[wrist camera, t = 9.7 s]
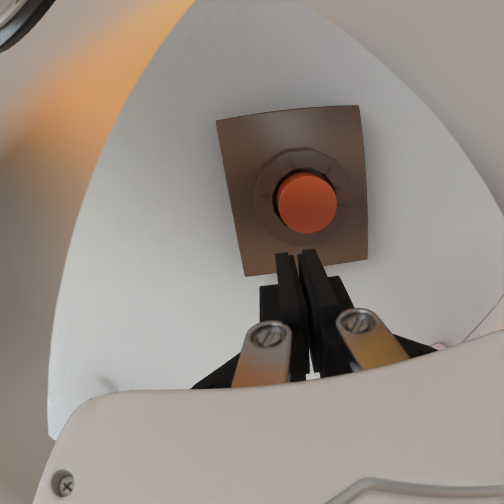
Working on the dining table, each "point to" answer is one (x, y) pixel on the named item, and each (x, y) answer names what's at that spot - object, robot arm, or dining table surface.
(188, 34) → the dining table surface
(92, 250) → the dining table surface
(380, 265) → the dining table surface
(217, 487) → the robot arm
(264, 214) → the button block
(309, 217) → the button
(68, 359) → the dining table surface
